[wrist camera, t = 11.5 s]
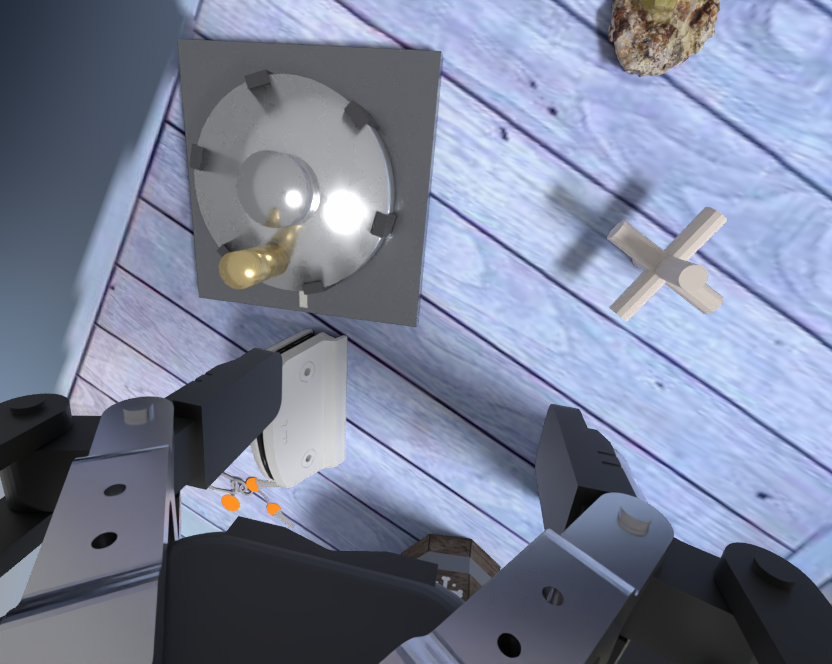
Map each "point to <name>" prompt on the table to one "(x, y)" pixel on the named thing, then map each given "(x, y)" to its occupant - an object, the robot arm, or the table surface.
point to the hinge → (306, 410)
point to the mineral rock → (660, 32)
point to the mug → (456, 563)
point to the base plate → (398, 128)
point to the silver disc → (292, 184)
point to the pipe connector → (668, 265)
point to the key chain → (254, 486)
